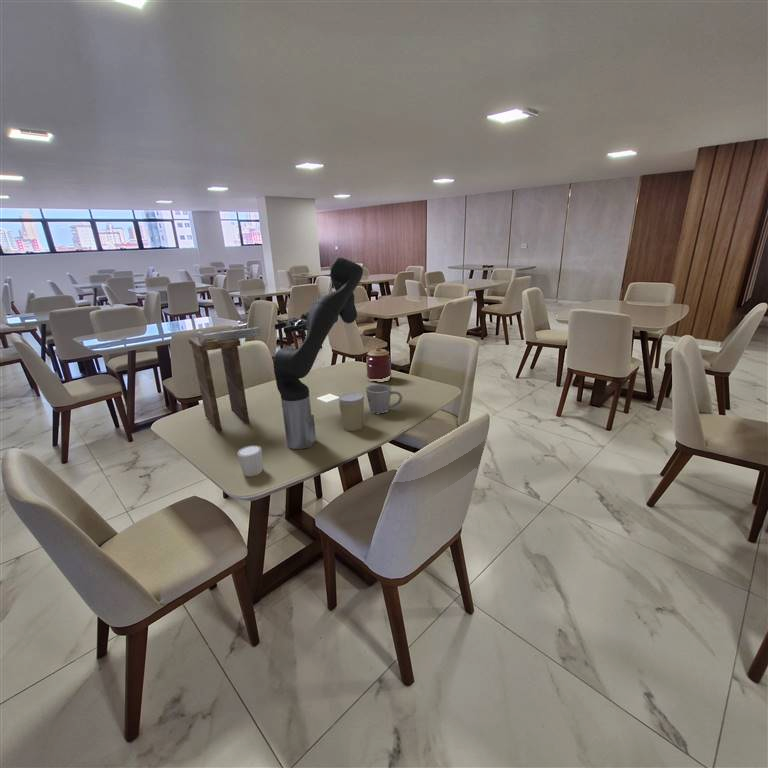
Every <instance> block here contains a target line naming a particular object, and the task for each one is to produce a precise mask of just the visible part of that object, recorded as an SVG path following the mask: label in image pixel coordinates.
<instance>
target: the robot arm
mask: <svg viewBox="0 0 768 768" xmlns="http://www.w3.org/2000/svg"><path fill="white" fill-rule="evenodd" d="M363 274H364V269H363V267H362V266H361V265H360V264H358V263H355V262H354V261H351V260H349V259H346V258H344V257H337V258H336V259H334V261H333V263H332V265H331V267H330V273H329V275H330V280H331V283H332V285H333V288H334V291H333V292H330V293H328V294H326V295H323V296H322V297H320V298H318V299H317V300H315V302H314V304H313V305H312V307H311V308H310V310H309V311H308V312H307V311H306V312H304V313H302V314H301V315H300V318H298V317H297V318H296V317H291V318H288V319H282V320H281V322H279V323H274V329H275V330H280V329H283V333H284V334H289V333H293V332H295V333H296V332H297V333H302V332H304V331H306V337H305V338H304V340H303V342H302V344H301V345H300V346H299V348H297V349H295V348H287V347H286V348H285V347H284V348H280V349H278V350H277V351H276V353H275V354H274V357H273V372H274V377H275V378H274V379H275V382H276V388H277V390H278V392H279V394H280V399H281V409H282V417H283V423H284V424H283V425H284V431H285V440H286V446H287V448H289V449H293V450H301V449H305V448H309V449H310V448H311V447H312V446H313V445H314V443H315V442H317V441H316V440H317V434H316V427H315V426H316V425H315V415H314V414H312V408H311V396H310V389H309V387H308V386H307V384H305V383H303V381H301V380H300V379H303V378H305V377H306V376H307V375H308V374H309V373H310V372H311V370H312V368H313V366H314V363H315V362H316V359H317V357H318V354H319V352H320V350H321V347H322V345H323V344H324V342H325V340H326V339H327V337H328V335H329V333H330V331H331V330H332V328H333V326H334V325H335V324H336V323H337V322H338V320H339V317H340V318H341V320H342V322H343V323H345V324H352V323H354V322H355V321H356V320H357V318H358V312H357V309H356V306H355V305H356V304H355V293H354V291H355V290H356V288H357V287H358V285H359V284H360V281H361V280H362V277H363Z"/></svg>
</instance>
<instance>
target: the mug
mask: <svg viewBox="0 0 768 768" xmlns="http://www.w3.org/2000/svg"><path fill="white" fill-rule="evenodd" d="M365 392H366V396H367V397H366V398H367V401H368V406H369V412H370V413H371V412H374V413H382V412H385V411H387V410H388V409H389V410H390V409H393V408H396V407H397V406H399V405H400V404H401V403H402V401H403V396H402V394H401V393H400V392H399V391H395V390H393V391H392V387H391V386H390V385H387V384H381V383H380V384H372V385H369V386H367V387H365ZM393 394H394V395H398V396H399V399H398V400H397V402H395V403H394V404H392V405H390V401H391V395H393ZM374 413H373V414H374Z"/></svg>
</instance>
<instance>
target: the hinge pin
mask: <svg viewBox="0 0 768 768" xmlns="http://www.w3.org/2000/svg"><path fill="white" fill-rule="evenodd" d="M196 335H197V337H198V341H199V343H200V344H205V341H212V340H218V342H220V341H227V340H234V339H238V340H240V339H248V338H254V337H261V336H262V328H261V327H259V326H256V327H255V326H254V327H249V328H241V329H231V330H225V331H216V332H210V333H208V332H207V333H203V332H202V331H201V330H200V331H196Z"/></svg>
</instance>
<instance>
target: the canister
mask: <svg viewBox="0 0 768 768" xmlns="http://www.w3.org/2000/svg"><path fill="white" fill-rule="evenodd" d="M366 354H367V356H366V357H365V359H366V378H367V377H368V378H369V379H383V378H386V377H388V376H390V375H391V376H392V363H391V358H392V357H391V355H390V352H389V351H388V350H386V349H383V348H381V346H376V347H375V348H373V349H371V350H369V351H368V352H367V353H366Z"/></svg>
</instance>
